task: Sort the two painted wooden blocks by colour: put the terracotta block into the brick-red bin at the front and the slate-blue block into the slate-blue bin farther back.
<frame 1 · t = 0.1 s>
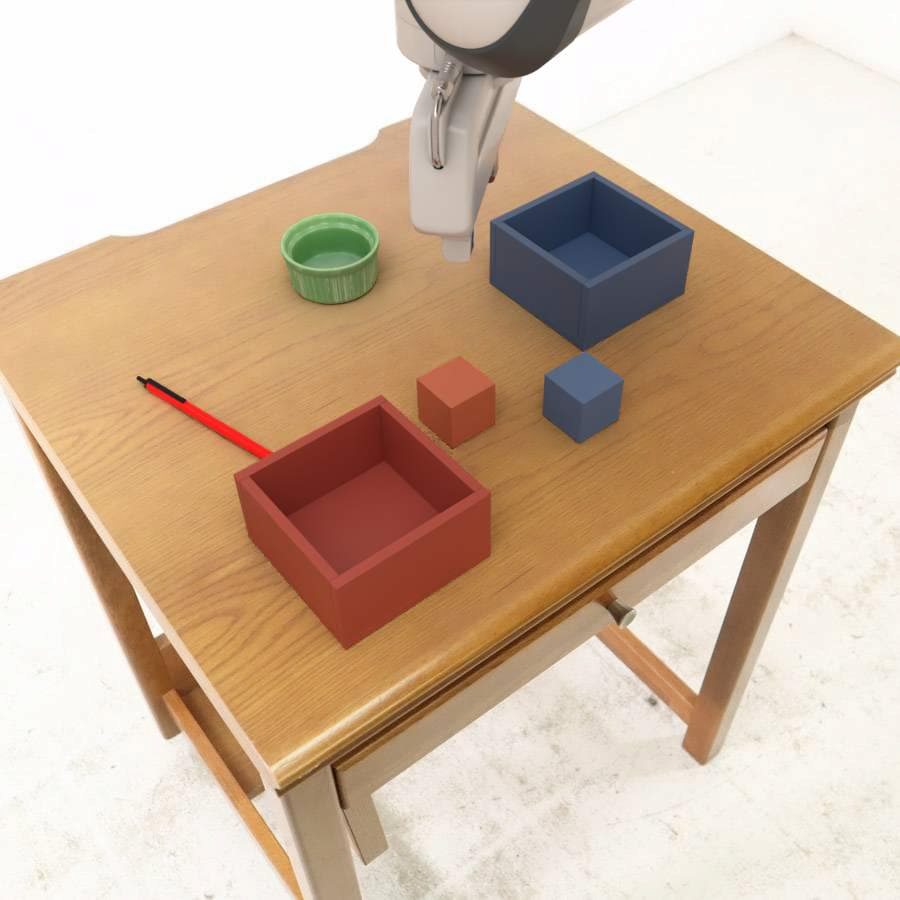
hand: (472, 215, 72), 19 cm above the table, tool pointing down, fingers open, 8 cm apart
ramekin: (334, 281, 99), on the table
terracotta block: (456, 421, 86), on the table
red bin: (368, 546, 77), on the table
blue bin: (585, 288, 97), on the table
blue block: (580, 417, 86), on the table
pen: (218, 431, 86), on the table
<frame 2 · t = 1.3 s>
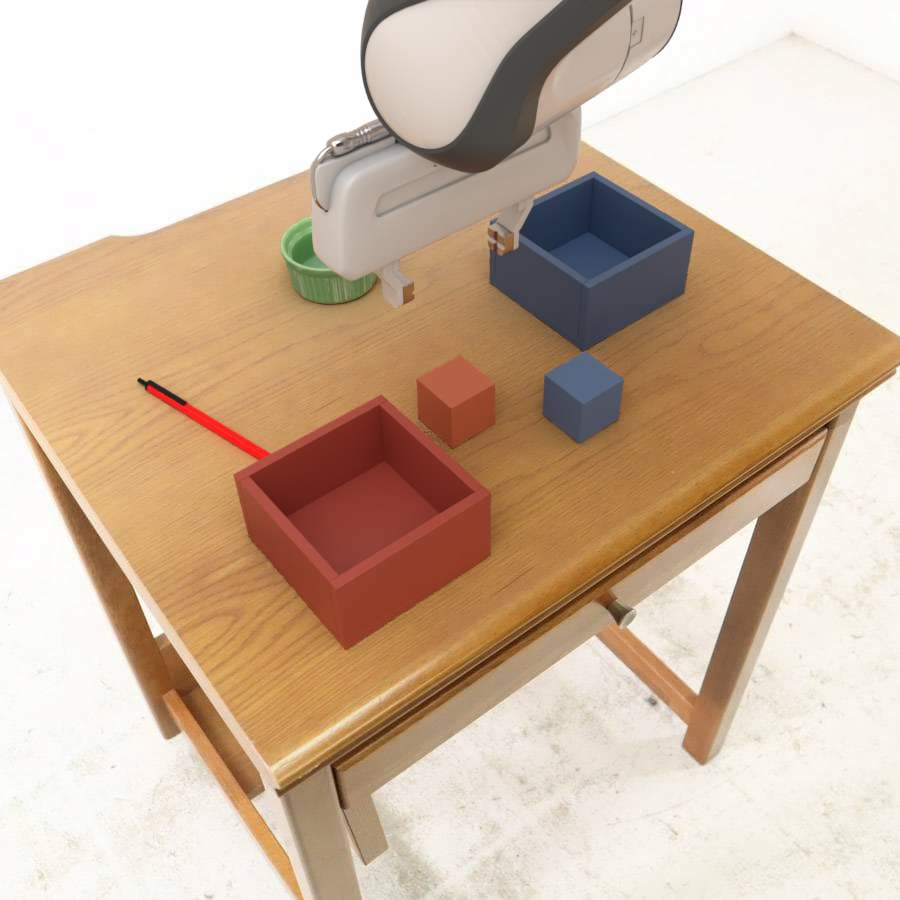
hand: (452, 274, 75), 15 cm above the table, tool pointing down, fingers open, 8 cm apart
nothing on the table moved.
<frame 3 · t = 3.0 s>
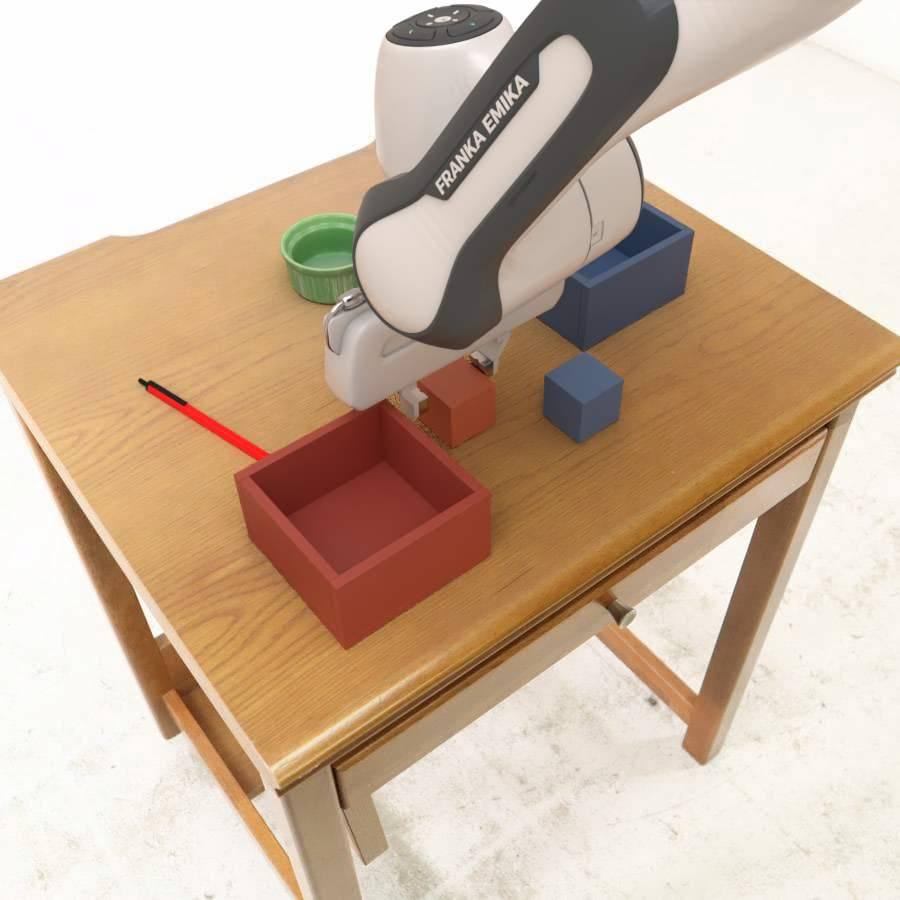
hand: (449, 392, 83), 3 cm above the table, tool pointing down, fingers open, 6 cm apart
nothing on the table moved.
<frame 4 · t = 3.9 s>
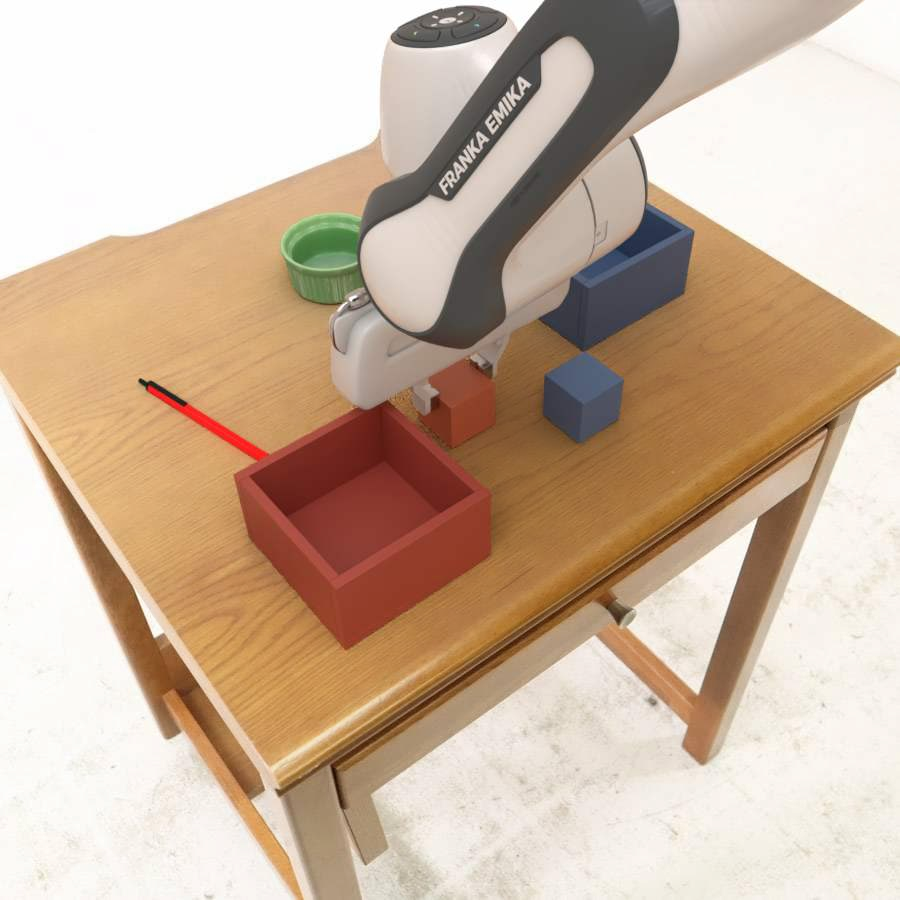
hand: (455, 391, 83), 3 cm above the table, tool pointing down, fingers closed on terracotta block, 4 cm apart
terracotta block: (456, 421, 86), on the table, touching gripper
everything else where it was.
when the fingers open (5 cm above the table, at t = 11.2 s): terracotta block stays where it is, resting on red bin.
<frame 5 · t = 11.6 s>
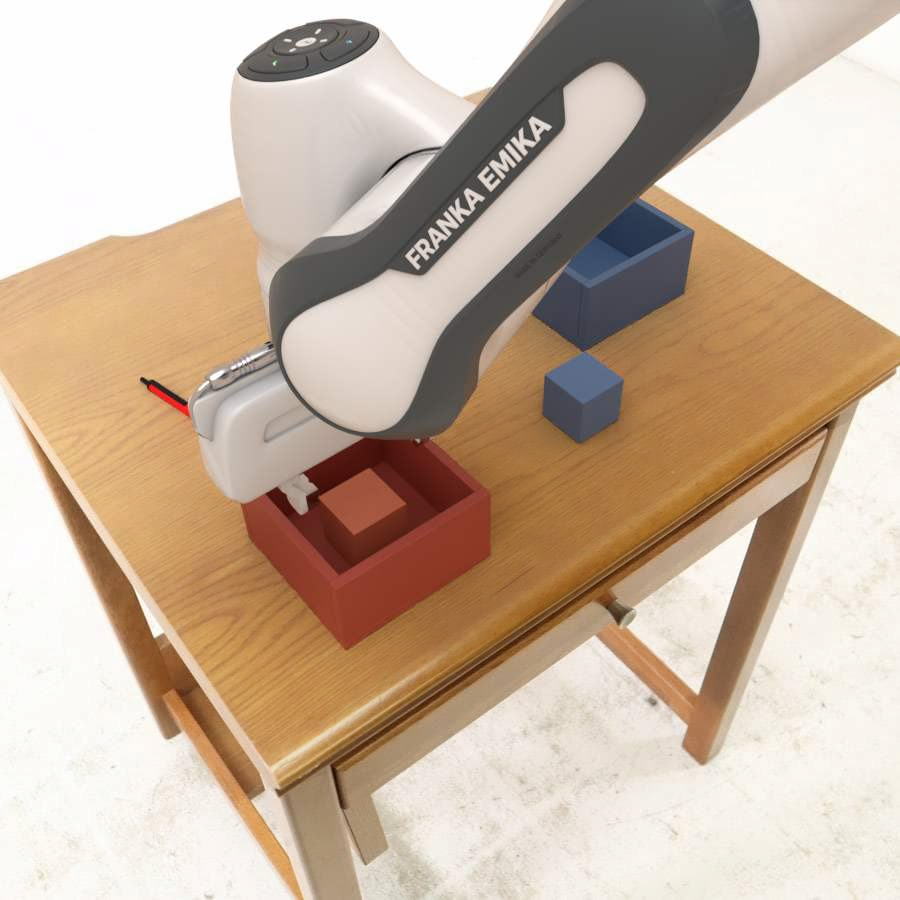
hand: (363, 470, 71), 8 cm above the table, tool pointing down, fingers open, 8 cm apart
terracotta block: (366, 540, 76), point 1 cm above the table, touching red bin
everything else where it was.
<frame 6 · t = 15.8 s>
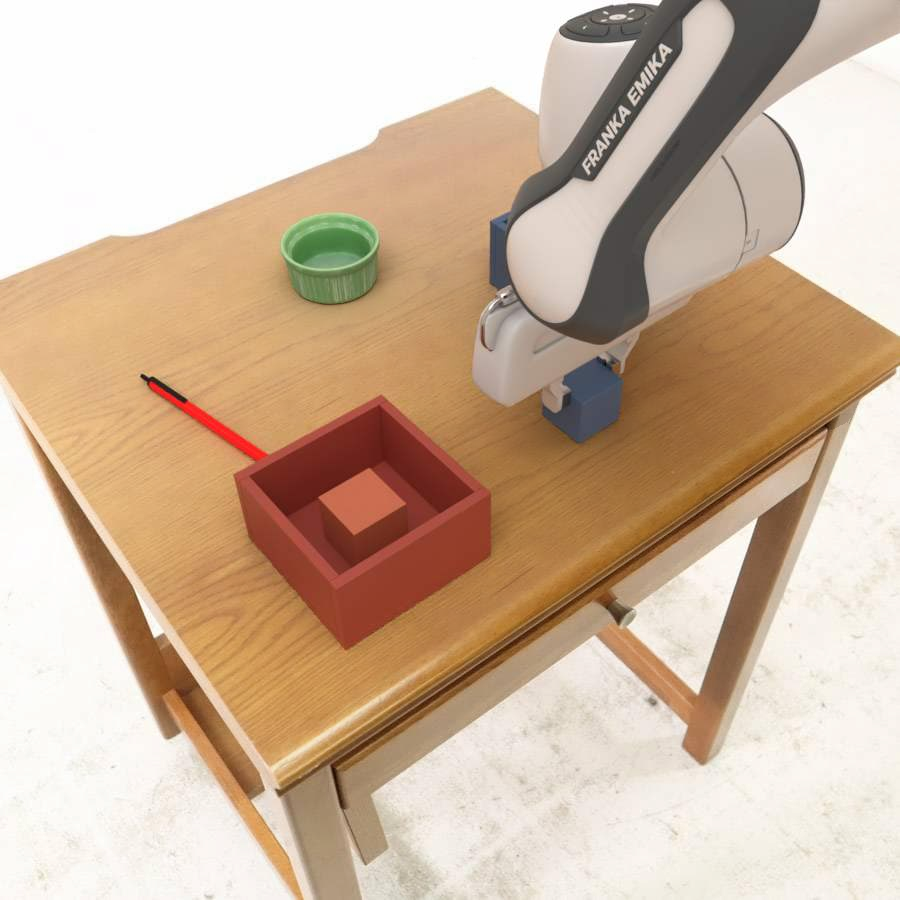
hand: (583, 388, 84), 3 cm above the table, tool pointing down, fingers closed on blue block, 4 cm apart
blue block: (580, 417, 86), on the table, touching gripper
everything else where it was.
when the fingers open (5 cm above the table, at t = 23.9 s): blue block stays where it is, resting on blue bin.
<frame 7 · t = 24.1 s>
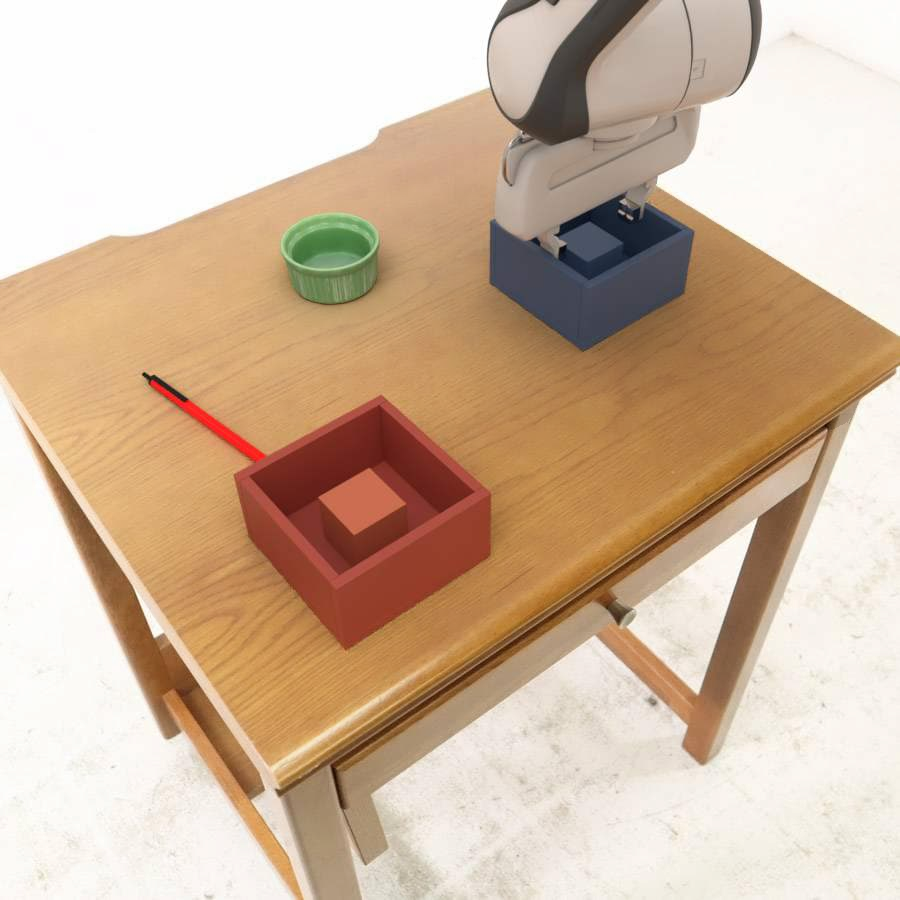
hand: (592, 239, 93), 5 cm above the table, tool pointing down, fingers open, 8 cm apart
blue block: (585, 281, 97), point 1 cm above the table, touching blue bin
everything else where it was.
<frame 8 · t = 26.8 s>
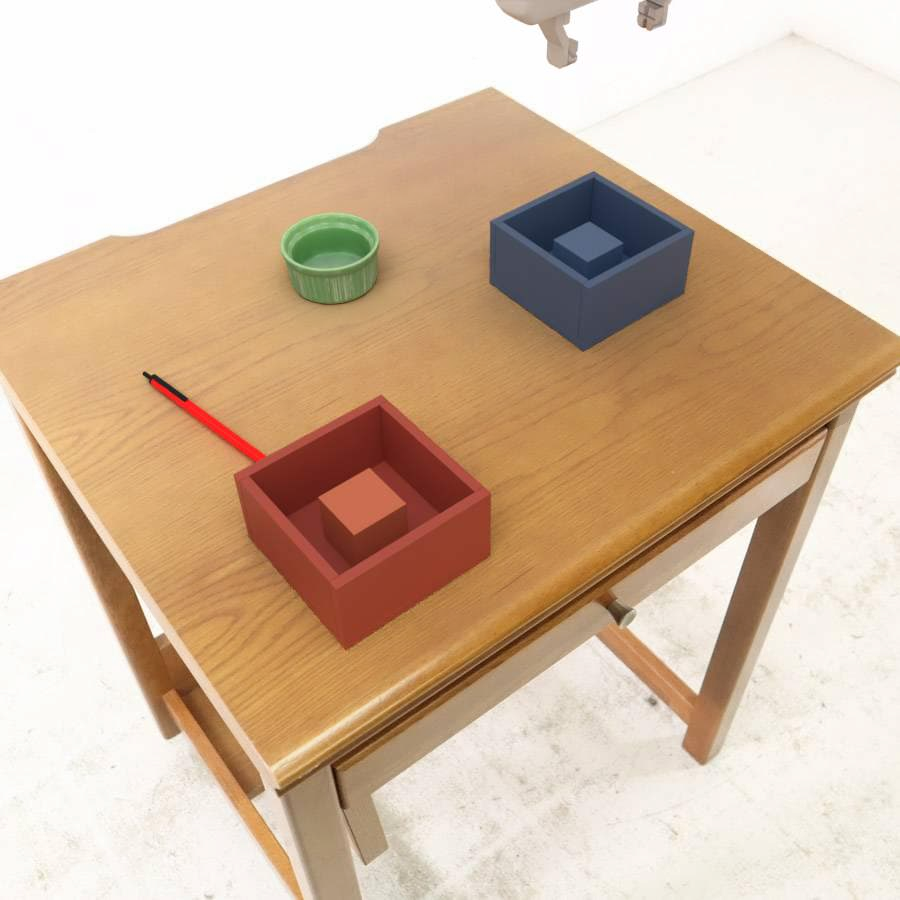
hand: (607, 44, 81), 23 cm above the table, tool pointing down, fingers open, 8 cm apart
nothing on the table moved.
at the end: terracotta block inside the target area in the red bin (0.1 cm from its centre), point 0.8 cm above the red bin's base; blue block inside the target area in the blue bin (0.1 cm from its centre), point 0.8 cm above the blue bin's base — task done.
